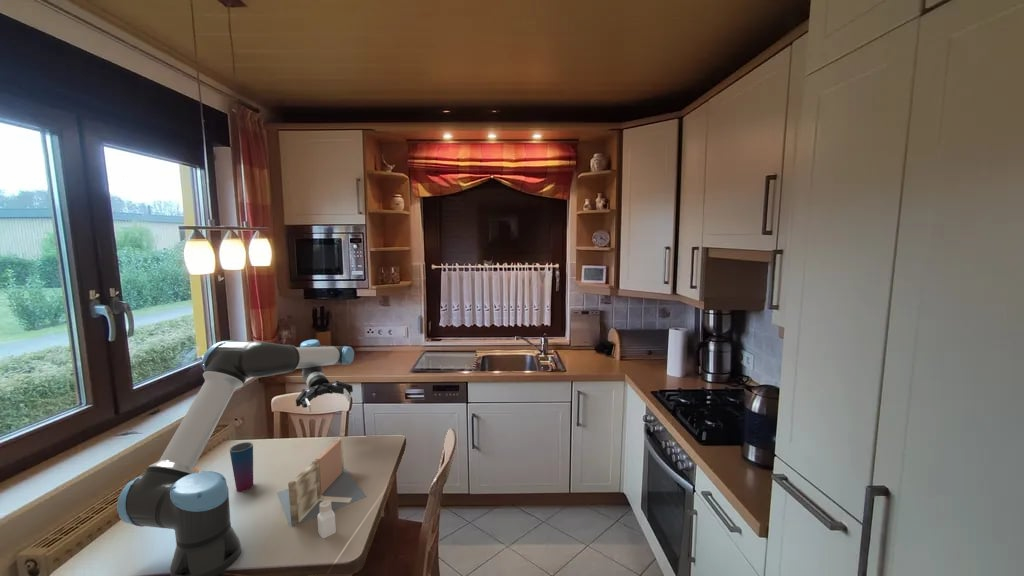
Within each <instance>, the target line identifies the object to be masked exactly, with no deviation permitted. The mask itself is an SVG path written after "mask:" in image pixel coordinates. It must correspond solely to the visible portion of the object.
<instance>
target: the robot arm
mask: <svg viewBox="0 0 1024 576" xmlns="http://www.w3.org/2000/svg"><path fill="white" fill-rule="evenodd" d="M354 358H355V350H354V349H353V348H352V346H346V345H343V346H342V345H336V346H335V345H321V343H320V340H319V339H308V340H304V341H302V342H301V343H300V344H299V346H298V347H296V346H295V345H293V344H280V343H273V342H269V341H268V342H267V341H255V340H254V341H252V340H251V341H249V340H248V341H247V340H237V339H236V340H233V339H229V340H222V341H218V342H216V343H213V345H211V346H210V347H209V348H208V349H206V351H205V353H204V354H203V358H202V363H203V364H202V370H203V371H204V372H203V373H202V377H203V379H204V382H203V384H202V386H201V388H200V389H199V390H198V393H197V394H196V396H195V398H194V399H193V401H192V403H191V405H190V406H189V408H188V409H187V412H186V414H185V415H184V417H183V418H182V420H181V422H180V424H179V425H178V427H177V429H176V431H175V433H174V434H173V436H172V438H171V439H170V441H169V443H168V444H167V446H166V447H165V449H164V451H163V453H162V454H161V457H160V458H159V460H158V461H156V462H154V463H152V464H150V465H148V467H147V468H146V470H145V471H144V474H142V475H140V476H137V477H135V478H133V480H131V481H129V482H128V483H127V484H126V485H125V486H124V488H123V489H122V490H121V492H120V494H119V495H118V499H117V503H116V511H117V513H118V517H119V519H121V521H123V522H124V523H126V524H128V525H134V526H136V527H141V528H142V527H149V528H150V527H151V528H160V529H169V530H174V535H175V543H176V544H175V549H174V553H173V557H172V560H171V563H170V567H169V573H170V576H220V574H222V573H223V572H224V571H227V569H229V568H230V567H231V566H232V565H233V564H234V563H236V561H237V560H238V558H239V557H240V555H241V552H242V546H241V540H240V538H239V537H238V535H237V534H236V532H235V530H234V528H233V526H232V523H231V511H230V497H229V495H230V494H229V493H230V491H229V486H228V484H227V479H226V477H225V476H224V475H223V474H221V473H220V472H217V471H214V470H213V471H212V470H204V471H201V472H198V473H197V472H195V470H194V468H196V464H197V462H198V461H199V460H200V457H201V456H202V453H203V451H204V450H205V448H206V446H207V444H208V443H209V440H210V438H211V437H212V435H213V432H214V430H215V429H216V426H217V425H218V423H219V420H220V418H221V417H222V416H223V413H224V411H225V410H226V408H227V406H228V404H229V402H230V400H231V398H232V396H233V394H234V392H235V390H237V389H239V388H240V389H241V388H242V387H243V386H244V384H245V383H246V381H247V379H248V378H263V377H264V378H265V377H270V376H275V375H276V376H277V375H282V374H288V373H292V372H294V371H295V370H297V369H302V373H301V375H302V380H303V381H304V382H305V384H306V385H307V388H308V389H305V388H302V389H301V393H300V394H299V395H298V396H297V398H296V399H295V406H296V407H300V406H302V408H304V409H305V408H306V409H307V411H308V413H311V412H312V407H311V403H310V402H311V401H312V400H313V399H316V398H317V397H318V396H320V397H321V396H324V395H327V394H330V395H331V394H333V393H334V394H342V395H343V396H344V397H345V399H346V400H347V402H351V393H353V391H354V390H353V385H352V384H348V383H345V382H344V383H343V382H341V381H339V380H336V381H335V382H334V383H332V382H330V381H329V380H328V378H327V376H326V375H325V373H324V369H323V367H324V366H335V365H350V364H351V363H352V362H353V361H354Z"/></svg>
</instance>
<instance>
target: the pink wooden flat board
mask: <svg viewBox="0 0 1024 576" xmlns="http://www.w3.org/2000/svg"><path fill="white" fill-rule="evenodd" d="M343 446H344V445H343V438H342V437H338V438H336V440H334V442H332V443H331V444H330V445H329V446H328V447H327V448H326V449H324V450H323V452H321V453H320V454H319V455H318V456H317V457H316V458H315V460H318V461H319V475H320V490H321V495H322V494H323V493H324V492H325V490H326V489H327V488H328V487H329V486H330V485H331V484H332V483H333V482H334V481H335V480H336V479H337V477H338V476H339V475H340V474H341V473H342V472H344V469H345V462H344V447H343Z"/></svg>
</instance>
